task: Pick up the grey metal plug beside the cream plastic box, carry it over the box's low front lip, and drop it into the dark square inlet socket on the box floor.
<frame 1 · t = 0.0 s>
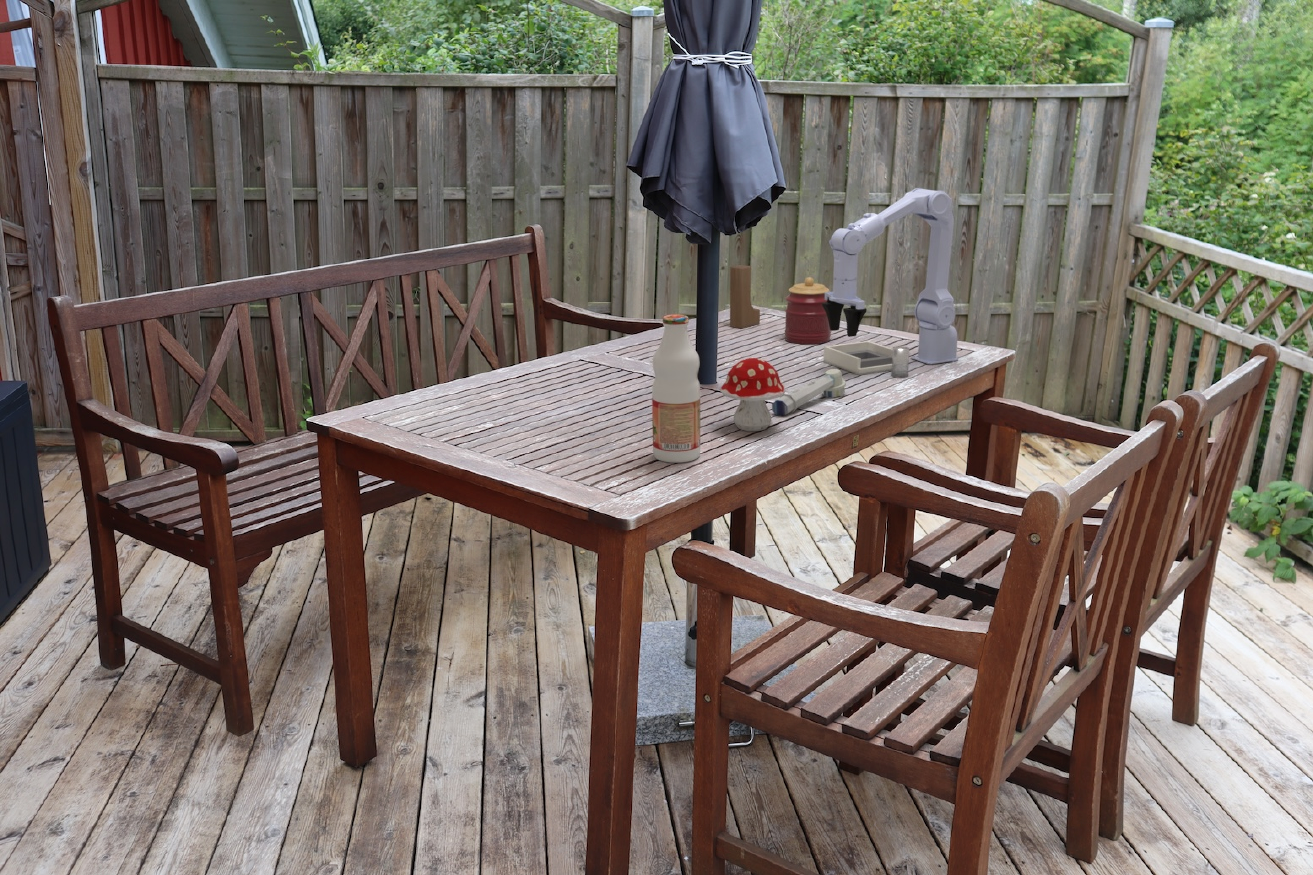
hand: (843, 333, 290), 10 cm above the table, tool pointing down, fingers open, 7 cm apart
canister: (807, 340, 330), on the table
metal plug: (899, 375, 290), on the table
decorative mushroom: (752, 428, 250), on the table
fruit juice: (676, 457, 232), on the table
walled box: (863, 365, 301), on the table
wooden block: (744, 326, 349), on the table
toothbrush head: (810, 405, 267), on the table
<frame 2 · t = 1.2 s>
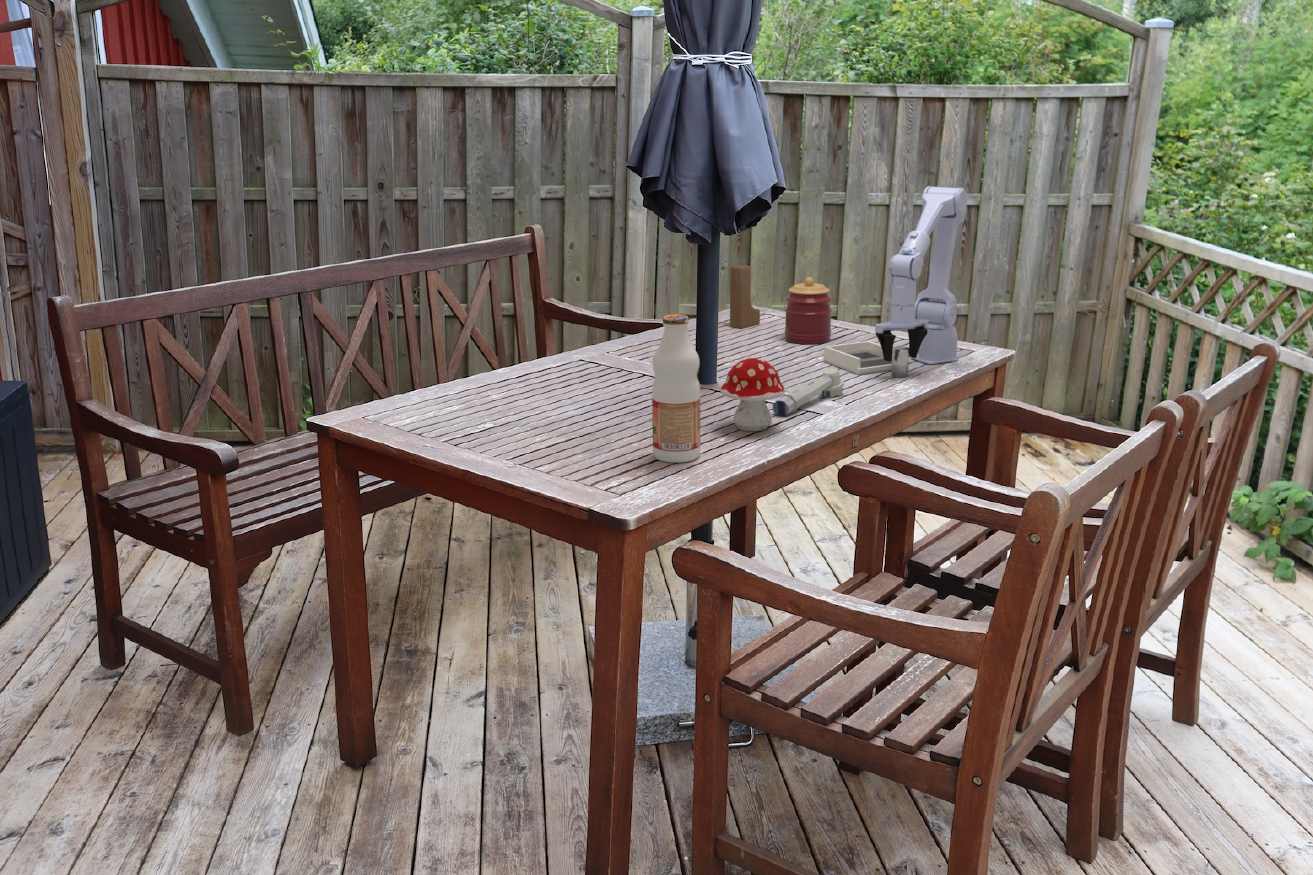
hand: (900, 358, 289), 4 cm above the table, tool pointing down, fingers open, 7 cm apart
nothing on the table moved.
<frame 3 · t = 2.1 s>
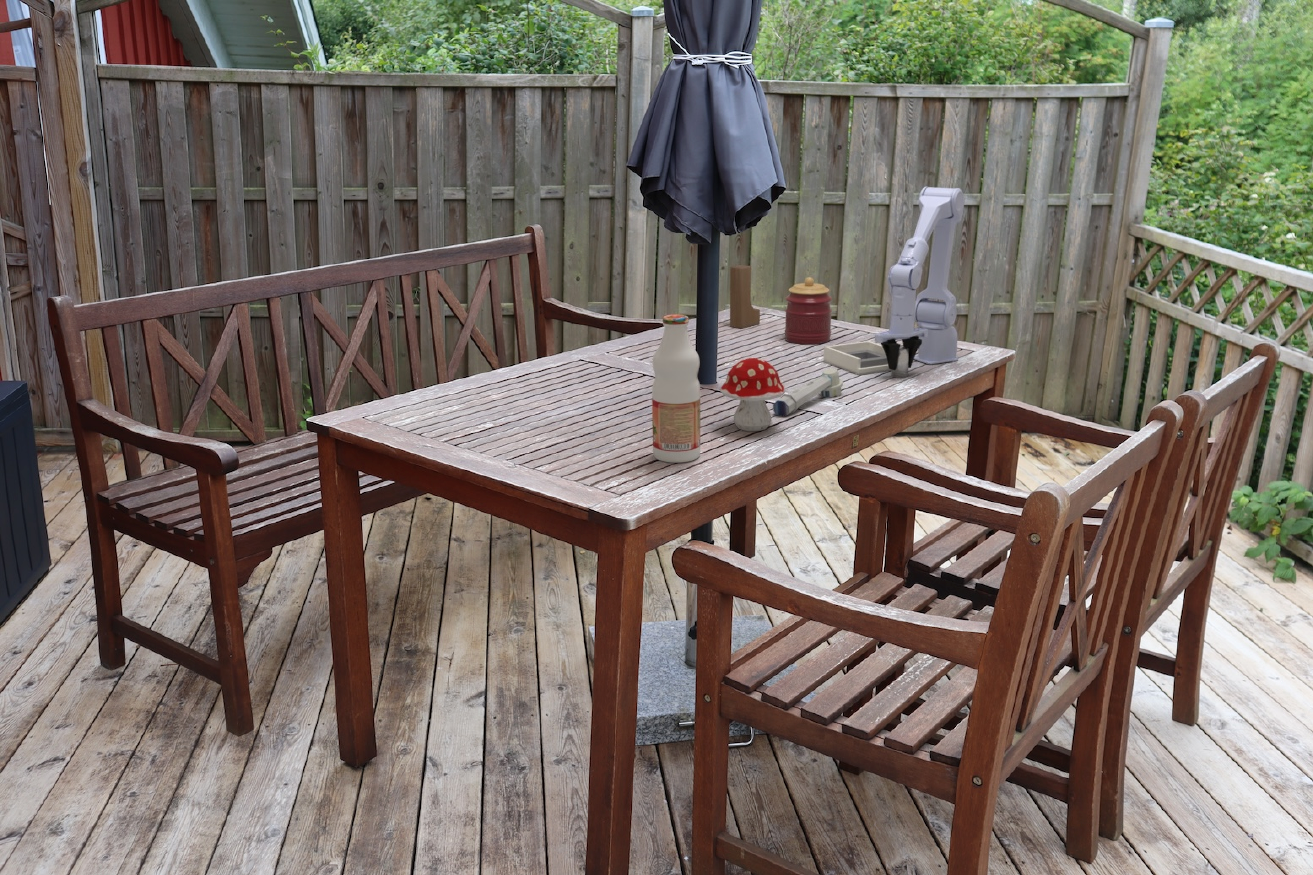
hand: (899, 368, 289), 2 cm above the table, tool pointing down, fingers closed on metal plug, 4 cm apart
metal plug: (899, 375, 290), on the table, touching gripper
everything else where it was.
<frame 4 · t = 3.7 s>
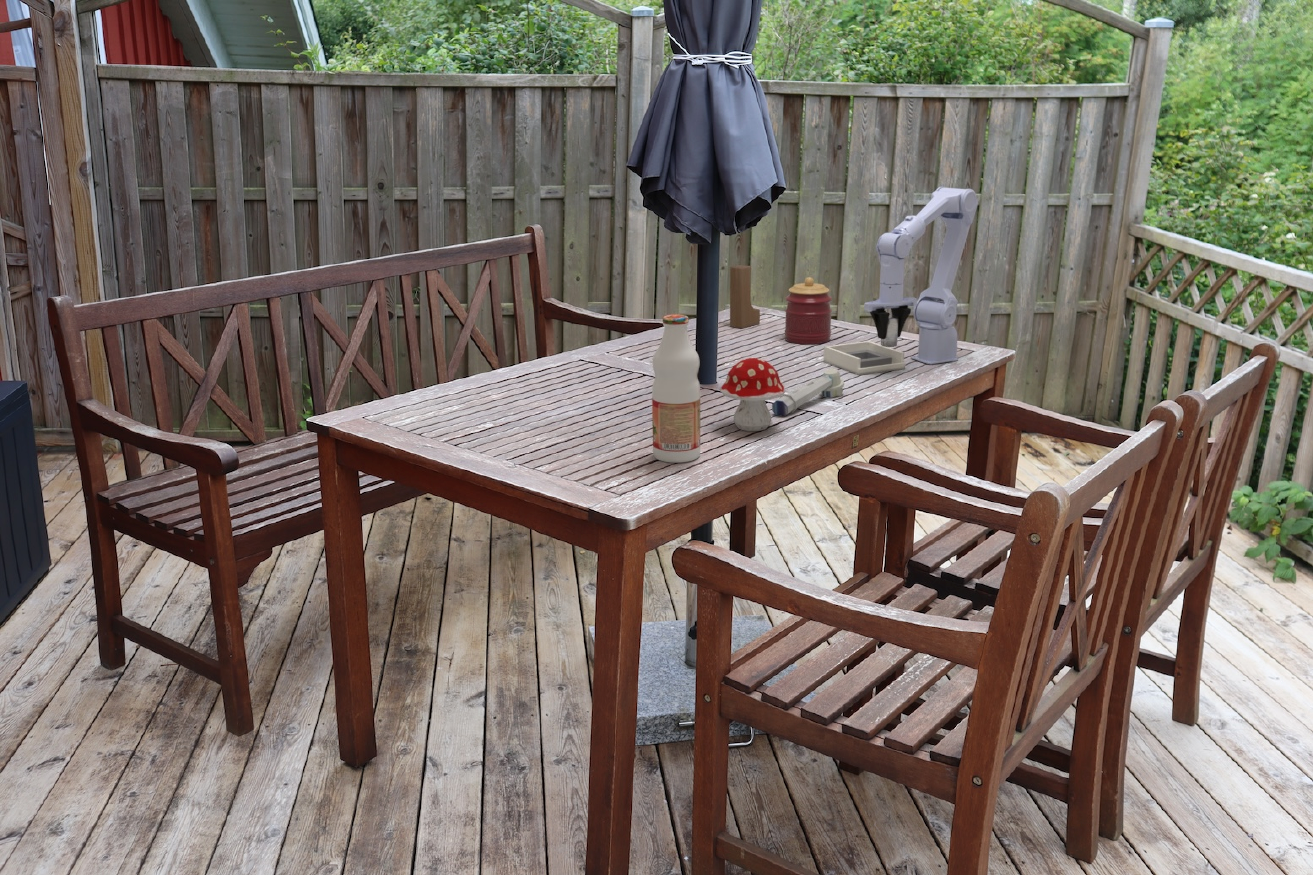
hand: (889, 337, 291), 9 cm above the table, tool pointing down, fingers closed on metal plug, 4 cm apart
metal plug: (888, 345, 291), point 7 cm above the table, touching gripper
everything else where it was.
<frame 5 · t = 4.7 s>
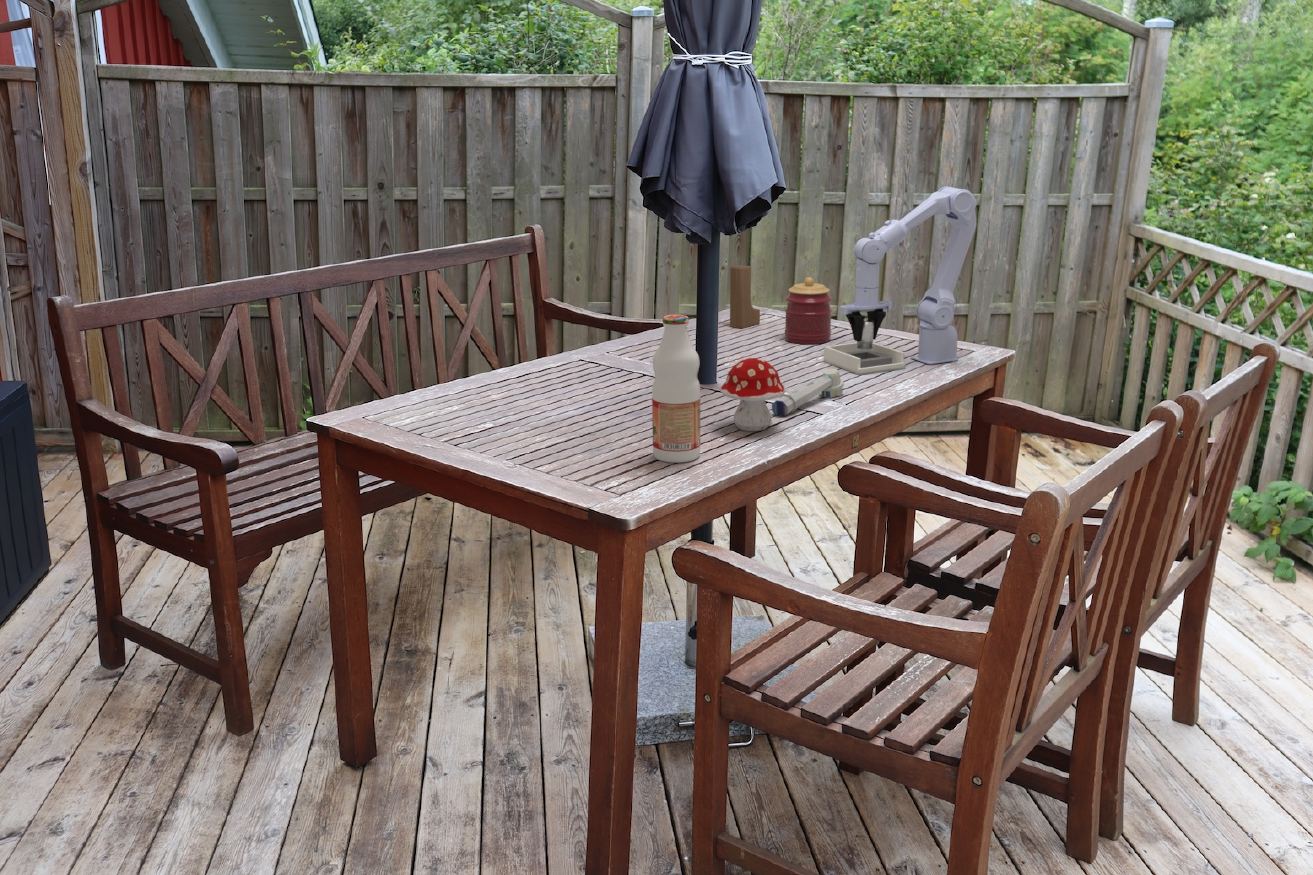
hand: (864, 339, 299), 7 cm above the table, tool pointing down, fingers closed on metal plug, 4 cm apart
metal plug: (864, 347, 299), point 5 cm above the table, touching gripper
everything else where it was.
when the fingers open (4 cm above the table, at t = 5.6 s): metal plug drops 1 cm, resting on walled box.
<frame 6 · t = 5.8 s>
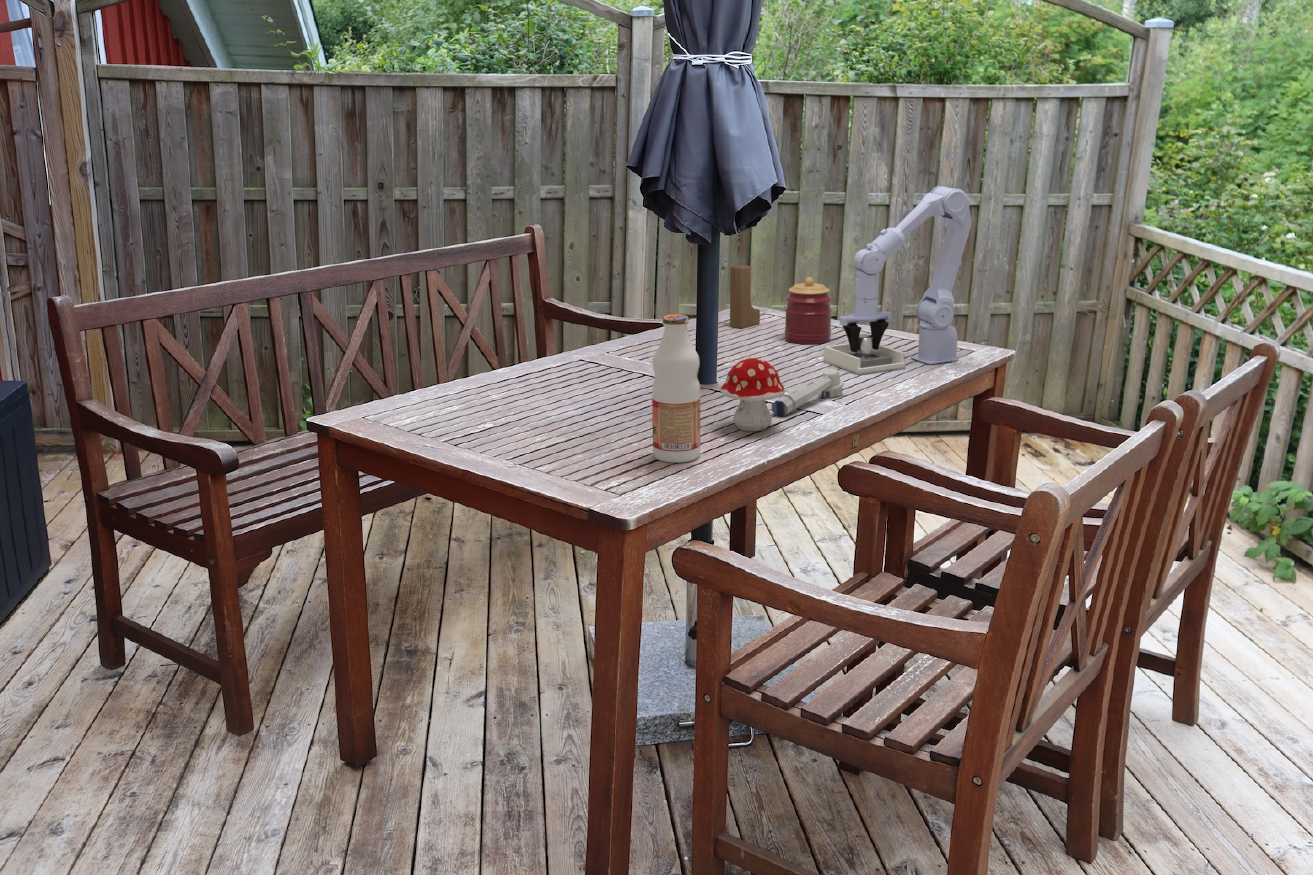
hand: (864, 350, 299), 4 cm above the table, tool pointing down, fingers open, 6 cm apart
metal plug: (864, 362, 300), point 1 cm above the table, touching walled box
everything else where it was.
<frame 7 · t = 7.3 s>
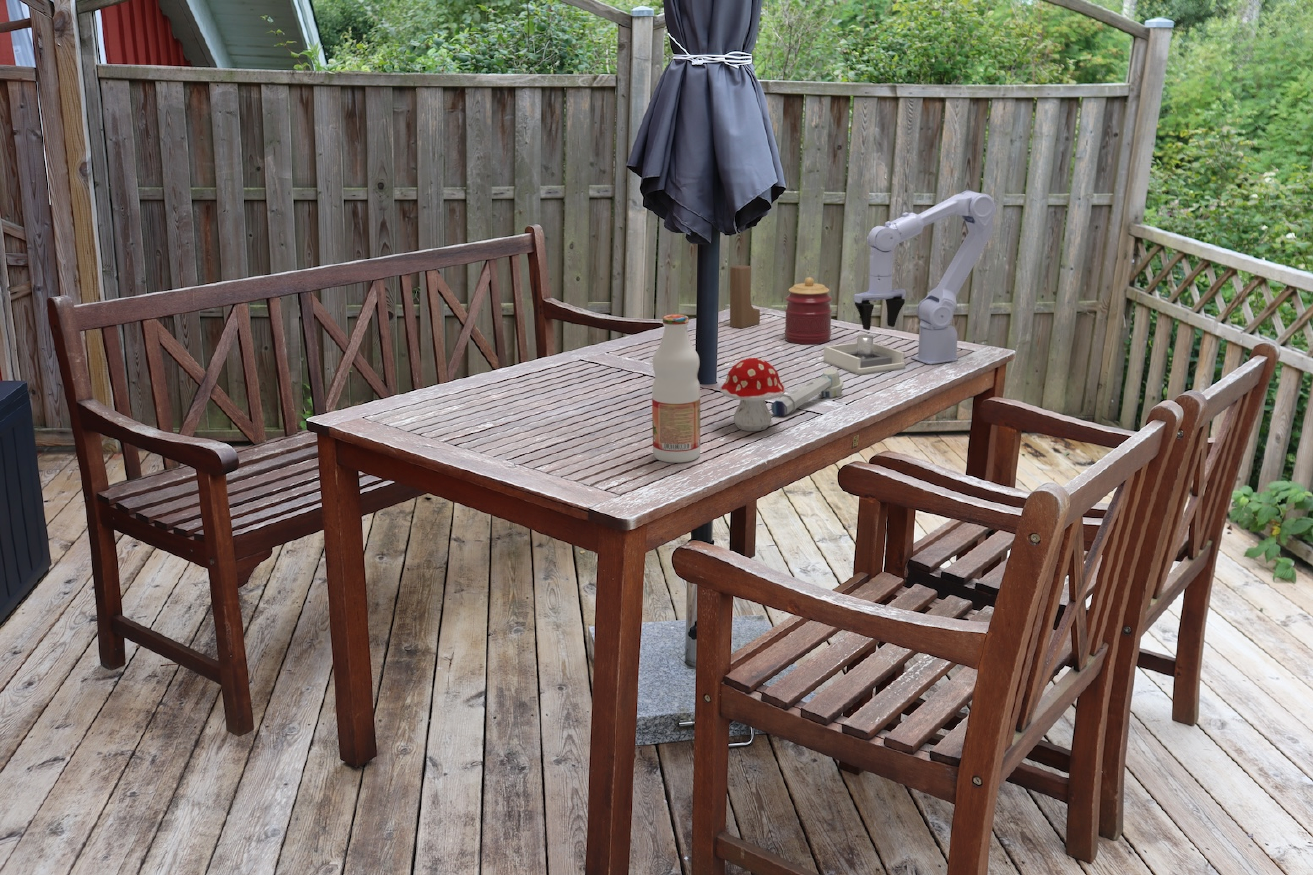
hand: (878, 327, 299), 9 cm above the table, tool pointing down, fingers open, 7 cm apart
nothing on the table moved.
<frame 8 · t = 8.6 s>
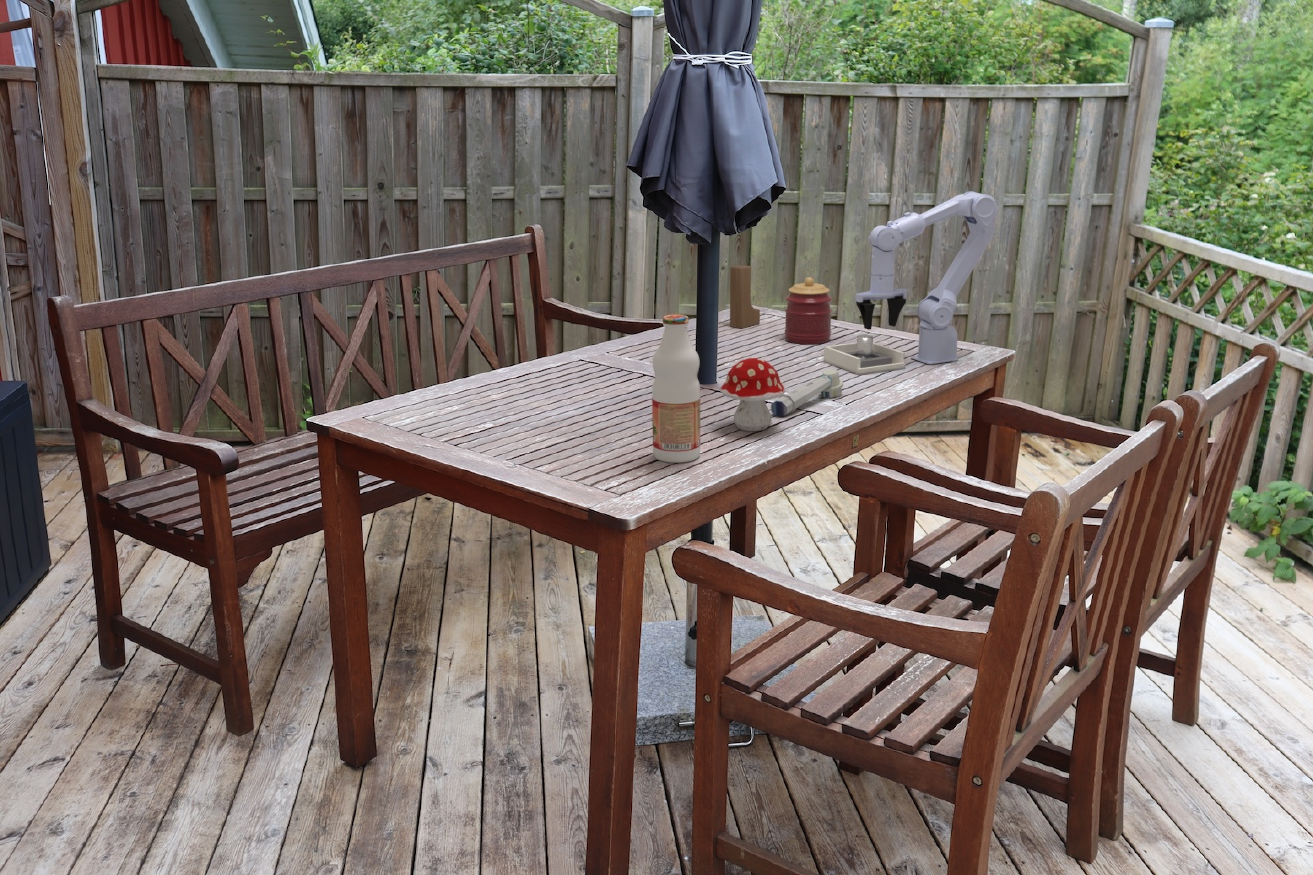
hand: (879, 327, 300), 9 cm above the table, tool pointing down, fingers open, 7 cm apart
nothing on the table moved.
at the end: metal plug 0.1 cm off-centre on the walled box, point 0.5 cm above the walled box's base; metal plug tilted 0°; the gripper is holding nothing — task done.
